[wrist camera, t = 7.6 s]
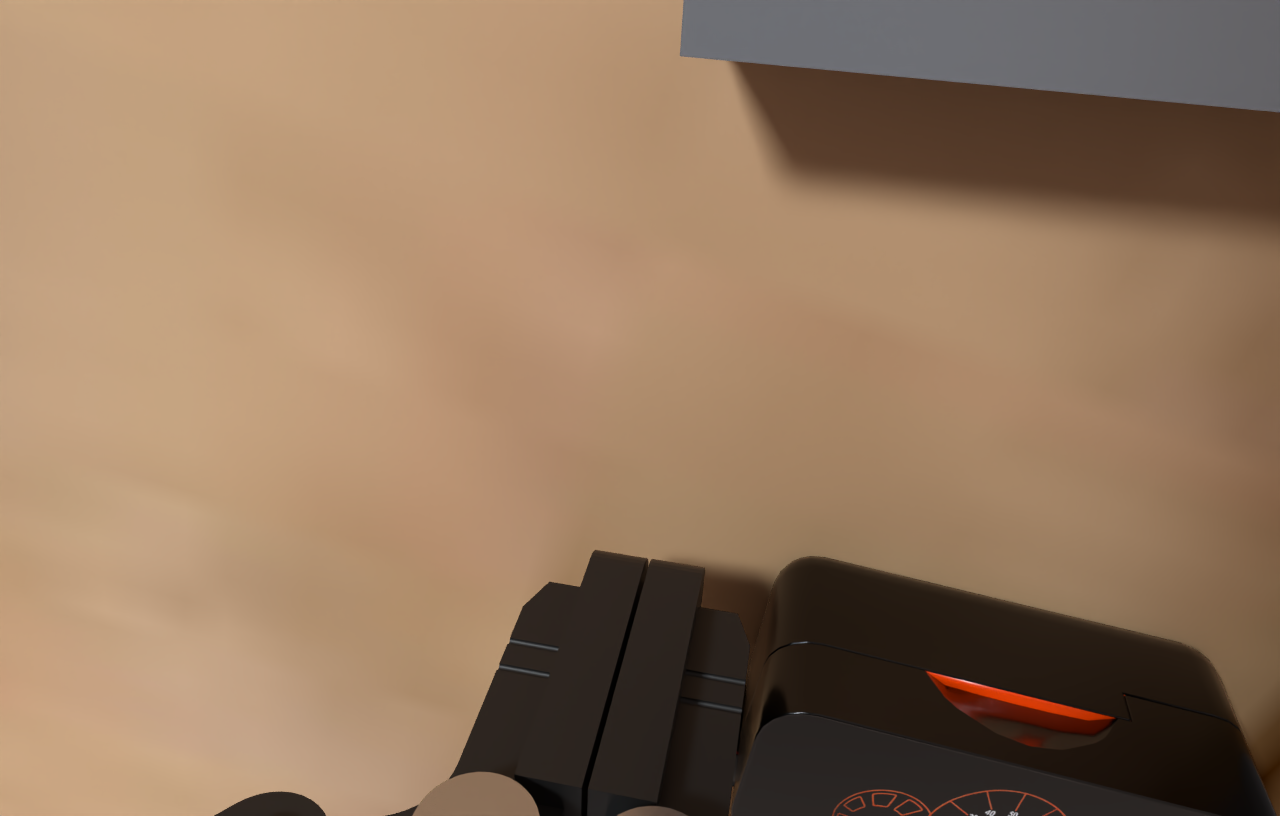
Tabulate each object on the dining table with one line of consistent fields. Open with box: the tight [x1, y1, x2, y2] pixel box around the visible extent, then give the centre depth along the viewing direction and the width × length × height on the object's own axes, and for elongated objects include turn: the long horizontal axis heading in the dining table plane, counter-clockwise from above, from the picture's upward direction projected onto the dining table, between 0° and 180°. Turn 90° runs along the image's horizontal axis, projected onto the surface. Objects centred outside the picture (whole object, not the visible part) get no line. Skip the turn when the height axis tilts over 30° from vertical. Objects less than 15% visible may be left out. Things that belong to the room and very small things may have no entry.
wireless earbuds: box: [731, 556, 1276, 816], centre depth 14 cm, size 5×7×3 cm, turn 82°
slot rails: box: [680, 0, 1280, 112], centre depth 13 cm, size 17×11×2 cm, turn 177°
